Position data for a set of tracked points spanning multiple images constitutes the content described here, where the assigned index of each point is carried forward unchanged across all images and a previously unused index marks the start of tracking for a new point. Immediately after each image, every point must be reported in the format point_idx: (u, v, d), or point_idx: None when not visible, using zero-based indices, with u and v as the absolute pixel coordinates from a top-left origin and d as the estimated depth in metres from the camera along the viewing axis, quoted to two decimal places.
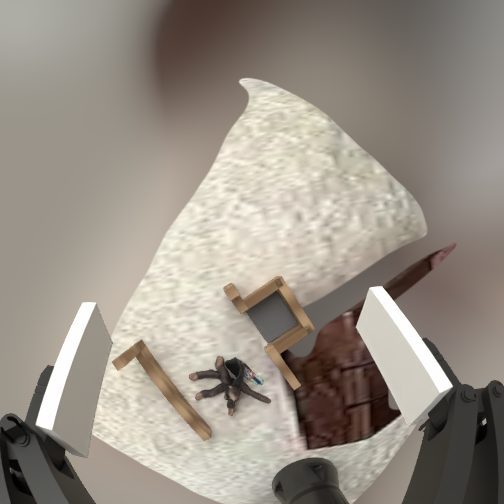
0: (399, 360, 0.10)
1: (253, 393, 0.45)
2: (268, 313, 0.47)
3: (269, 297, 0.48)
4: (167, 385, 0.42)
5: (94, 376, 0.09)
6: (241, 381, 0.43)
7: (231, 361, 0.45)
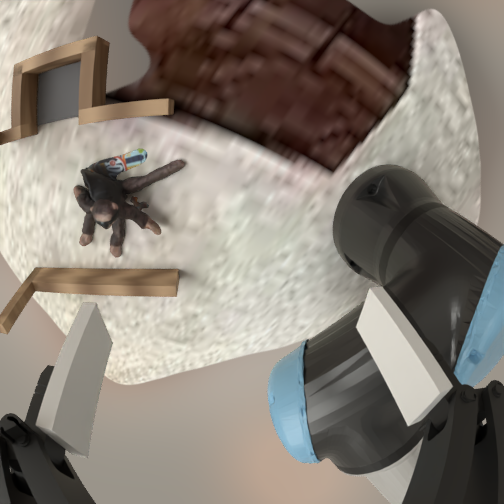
0: (399, 360, 0.10)
1: (148, 176, 0.26)
2: (56, 95, 0.20)
3: (41, 86, 0.18)
4: (77, 280, 0.28)
5: (94, 376, 0.09)
6: (102, 185, 0.23)
7: (83, 178, 0.25)
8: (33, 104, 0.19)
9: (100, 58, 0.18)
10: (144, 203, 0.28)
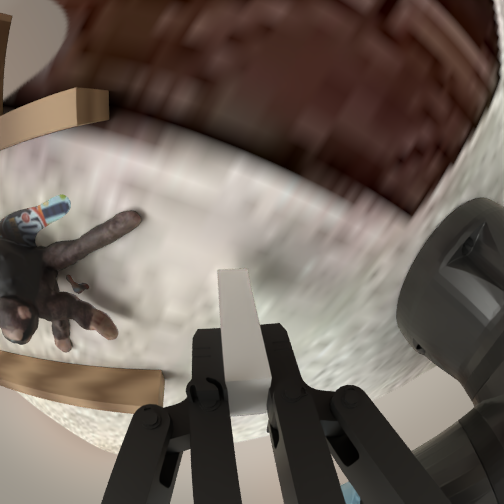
0: None
1: (80, 244, 0.13)
2: None
3: None
4: (27, 381, 0.15)
5: None
6: (6, 268, 0.10)
7: None
8: None
9: None
10: None
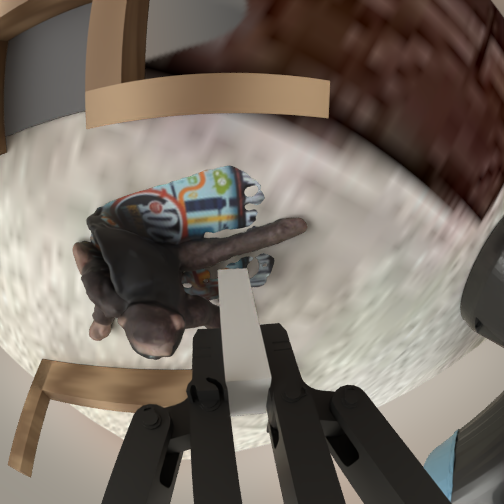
0: None
1: (235, 245, 0.14)
2: (37, 72, 0.08)
3: (11, 60, 0.07)
4: (116, 395, 0.17)
5: None
6: (141, 266, 0.11)
7: (92, 232, 0.13)
8: None
9: None
10: (215, 286, 0.16)
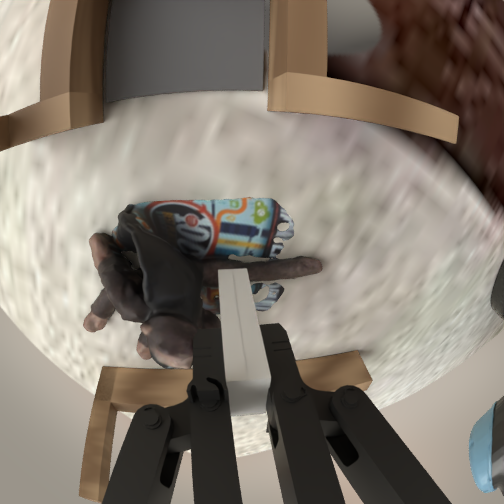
0: None
1: (256, 272, 0.15)
2: (164, 34, 0.09)
3: (120, 14, 0.08)
4: None
5: None
6: (174, 279, 0.12)
7: (119, 229, 0.13)
8: (97, 51, 0.08)
9: None
10: None
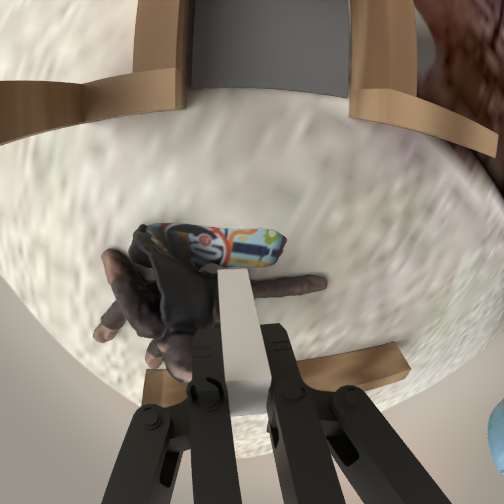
0: None
1: (266, 290, 0.16)
2: (257, 28, 0.09)
3: None
4: None
5: None
6: (190, 299, 0.12)
7: (133, 247, 0.13)
8: (185, 32, 0.08)
9: None
10: None
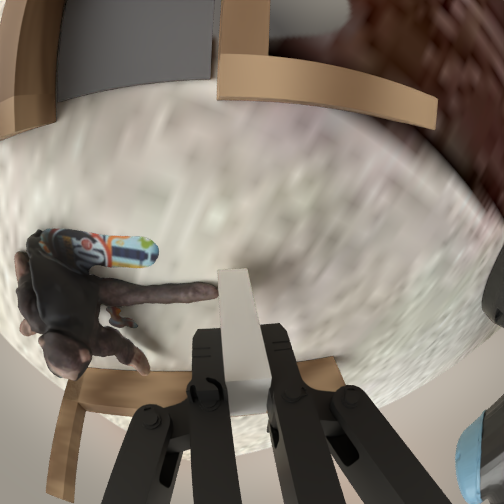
0: None
1: (148, 296, 0.14)
2: (112, 29, 0.07)
3: (73, 13, 0.06)
4: (171, 402, 0.16)
5: None
6: (63, 301, 0.11)
7: None
8: (49, 52, 0.07)
9: None
10: (129, 321, 0.16)
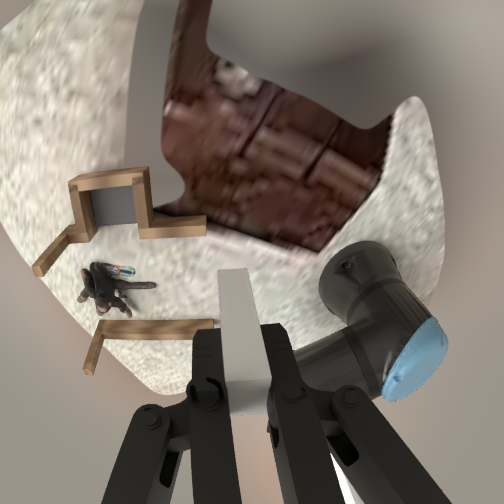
0: None
1: (132, 286, 0.41)
2: (110, 205, 0.34)
3: (94, 195, 0.33)
4: (140, 331, 0.43)
5: None
6: (103, 286, 0.37)
7: (90, 269, 0.38)
8: (90, 210, 0.34)
9: (146, 186, 0.32)
10: (125, 295, 0.43)
